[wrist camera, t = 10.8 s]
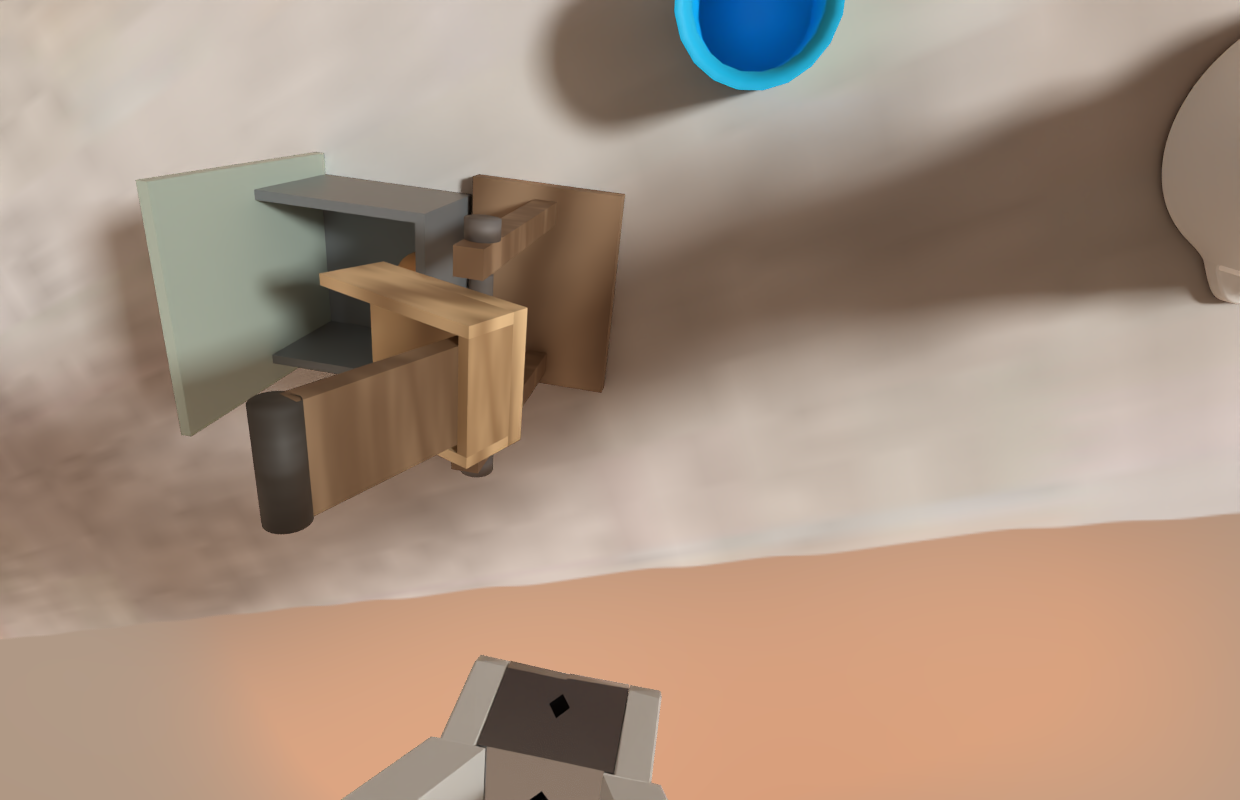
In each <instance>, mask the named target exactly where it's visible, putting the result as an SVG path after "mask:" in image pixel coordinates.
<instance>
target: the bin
mask: <svg viewBox="0 0 1240 800" xmlns="http://www.w3.org/2000/svg"><path fill="white" fill-rule="evenodd" d="M136 185H137V190H138V196H139V201H140V207H141V212H142V218H143V224H144V229H145V235H146V240H147V246H148V252H149V257H150V263H151V268H152V274H153V279H154V285H155V291H156V296H157V302H158V307H159V313H160V318H161V324H162V330H163V335H164V341H165V346H166V352H167V358H168V363H169V369H170V374H171V380H172V385H173V391H174V397H175V402H176V408H177V413H178V419H179V424H180V430H181V435H185V436H193V435H194V434H196V433H197V432H199V431H201V430H202V429H204V428H205V427H207V426H208V425H210V424H211V423H213V422H215V421H216V420H218V419H219V418H221V417H222V416H224V415H225V414H227V413H229V412H230V411H232V410H233V409H235V408H236V407H238V406H239V405H241V404H243V403H244V402H246V401H247V400H249V399H250V398H251V397H253V396H255V395H257V394H258V393H260V392H261V391H263V390H264V389H266V388H267V387H269V386H271V385H272V384H274V383H275V382H277V381H278V380H280V379H281V378H283V377H285V376H286V375H288V374H289V373H291V372H292V371H294V370H295V369H297V368H304V369H310V370H316V371H322V372H328V373H334V374H340V373H343V372H346V371H349V370H352V369H355V368H358V367H361V366H364V365H367V364H370V363H373V355H372V333H371V310H370V303H368V302H365V301H362V300H359V299H357V298H354V297H351V296H348V295H346V294H343V293H340V292H337V291H335V290H332V289H329V288H326V287H324V286H321V285H320V278H319V273H324V272H330V271H335V270H340V269H346V268H351V267H356V266H362V265H367V264H372V263H378V262H383V261H384V262H387V263H390V264H393V265H396V266H398V265H399V263H400V262H401V261H402V259H403V258H404V257H406V256H407V255H409V254H411V253H413V252H415V259H416V272H418V273H421V274H424V275H427V276H430V277H434V278H437V279H440V280H443V281H446V282H449V283H452V284H455V285H458V286H462V287H465V288H468V289H469V279H467V278H461V277H454V276H453V245H454V244H456V243H458V242H459V241H461V240H463V239H464V216H466V215H471V206H472V195H471V194H464V193H456V192H449V191H442V190H435V189H428V188H421V187H413V186H406V185H399V184H392V183H385V182H378V181H370V180H363V179H356V178H349V177H342V176H334V175H327V174H325V162H324V153H319V152H313V153H306V154H300V155H293V156H287V157H281V158H274V159H268V160H261V161H255V162H248V163H242V164H236V165H229V166H223V167H216V168H210V169H203V170H197V171H191V172H184V173H178V174H171V175H165V176H158V177H152V178H145V179H139V180H136Z"/></svg>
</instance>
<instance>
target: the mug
mask: <svg viewBox="0 0 1240 800" xmlns="http://www.w3.org/2000/svg"><path fill="white" fill-rule="evenodd" d="M844 2H845V0H675V7H674V13H675V17H676V22H677V26H678V30H679V35H680V39H681V41H682V43H683V45H684V47H685V48H686V50H687V52H688V53H689V55H690V57H691V59H692V60H693V62H694V64H696V65H697V66H698V67H699V68H700V69H701V70H702V71H704V72H705V73H706V74H707V75H708V76H709V77H710V78H712V79H713V80H714V81H717V82H719V83H722V84H724V85H727V86H729V87H732V88H734V89H737V90H766V89H769V88H772V87H775V86H779V85H782V84H785V83H788V82H790V81H791V80H793V79H794V78H795V77H797V76H798V75H800V74H801V73H803V72H804V71H806V70H807V69H808V68H810V67H811V66H812V65H813V64H814V63H815V62H816V60H817V59H818V58H819V57H820V55H821V54H822V53H823V52H824V50H825V49H826V48H827V47H828V46H829V44H830V43H831V41H832V38H833V36H834V34H835V31H836V29H837V27H838V25H839V22H840V20H841V18H842V15H843V9H844Z"/></svg>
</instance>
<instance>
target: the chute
mask: <svg viewBox="0 0 1240 800" xmlns="http://www.w3.org/2000/svg"><path fill="white" fill-rule="evenodd" d="M319 278H320V285H321V286H324V287H326V288H329V289H332V290H335V291H337V292H340V293H343V294H346V295H348V296H351V297H354V298H357V299H359V300H362V301H365V302H368V303H370V310H371V333H372V355H373V363H370V364H367V365H364V366H361V367H358V368H355V369H352V370H349V371H346V372H343V373H340V374H337V375H334V376H331V377H327V378H324V379H321V380H318V381H315V382H312V383H309V384H306V385H303V386H300V387H297V388H294V389H291V390H288V391H272V392H265V393H261V394H258V395H255V396H253V397H251V398H250V399H249V400H248V401H247V402H246V410H247V417H248V425H249V432H250V440H251V447H252V455H253V463H254V470H255V478H256V485H257V493H258V500H259V508H260V516H261V523H262V527H263V528H264V529H265V530H266V531H268V532H270V533H274V534H290V533H294V532H298V531H300V530H302V529H304V528H306V527H307V526H309V525H310V524H311V523H312V521H313V519H314V516H315V515H317V514H319V513H321V512H323V511H325V510H327V509H329V508H331V507H333V506H335V505H337V504H339V503H341V502H343V501H345V500H347V499H349V498H351V497H353V496H355V495H357V494H359V493H361V492H363V491H365V490H367V489H369V488H371V487H373V486H375V485H377V484H379V483H381V482H383V481H385V480H387V479H389V478H391V477H393V476H395V475H397V474H399V473H401V472H403V471H405V470H407V469H409V468H411V467H413V466H415V465H417V464H419V463H421V462H423V461H425V460H427V459H429V458H431V457H433V456H435V455H438V456H440V457H442V458H444V459H447V460H449V461H451V462H453V463H455V464H457V465H459V466H461V467H463V468H465V469H467V468H469V467H471V466H473V465H475V464H476V463H478V462H480V461H482V460H484V459H486V458H487V457H489V456H491V455H493V454H495V453H496V452H498V451H500V450H502V449H504V448H506V447H507V446H509V445H511V444H513V443H515V442H517V441H518V440H520V437H521V419H522V401H523V382H524V364H525V346H526V328H527V309H528V308H527V307H524V306H521V305H518V304H515V303H511V302H508V301H505V300H502V299H499V298H496V297H493V280H494V275H493V274H491V275H490V276H489V277H488V278H486V279H485V280H484V281H480V280H474V279H469V289H468V288H465V287H462V286H458V285H455V284H452V283H449V282H446V281H443V280H440V279H437V278H434V277H430V276H427V275H424V274H421V273H418V272H415V271H412V270H409V269H406V268H402V267H399V266H396V265H393V264H390V263H387V262H384V261H383V262H378V263H372V264H367V265H362V266H356V267H351V268H346V269H340V270H335V271H330V272H324V273H319Z"/></svg>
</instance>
